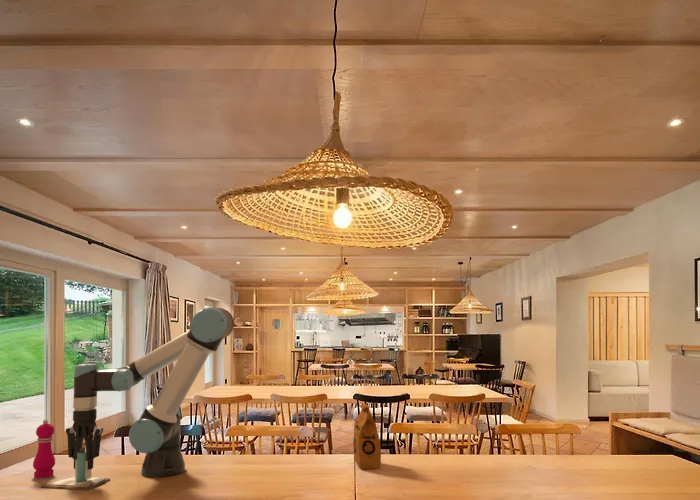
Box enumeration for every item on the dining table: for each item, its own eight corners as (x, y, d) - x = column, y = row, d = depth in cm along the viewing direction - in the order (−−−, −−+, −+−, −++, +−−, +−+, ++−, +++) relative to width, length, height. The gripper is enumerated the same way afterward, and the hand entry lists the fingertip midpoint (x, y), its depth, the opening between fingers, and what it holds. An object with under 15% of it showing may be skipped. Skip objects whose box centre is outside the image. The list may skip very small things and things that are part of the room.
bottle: (89, 479, 204) (90, 446, 206) (83, 482, 201) (84, 449, 202) (80, 479, 205) (81, 446, 206) (74, 482, 201) (75, 448, 203)
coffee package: (355, 470, 213) (354, 408, 215) (352, 462, 225) (351, 403, 227) (383, 469, 214) (381, 407, 216) (378, 461, 226) (377, 402, 228)
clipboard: (110, 480, 207) (111, 476, 207) (88, 490, 195) (88, 486, 195) (65, 477, 211) (65, 474, 211) (40, 487, 200) (40, 483, 200)
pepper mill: (45, 479, 210) (47, 421, 212) (27, 478, 212) (29, 421, 214) (59, 473, 217) (61, 417, 219) (42, 473, 219) (43, 417, 221)
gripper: (111, 407, 208) (110, 476, 206) (72, 407, 212) (70, 475, 209) (98, 411, 201) (96, 482, 199) (57, 410, 205) (55, 480, 202)
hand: (83, 478), depth 204 cm, fingers closed on bottle, 3 cm apart
